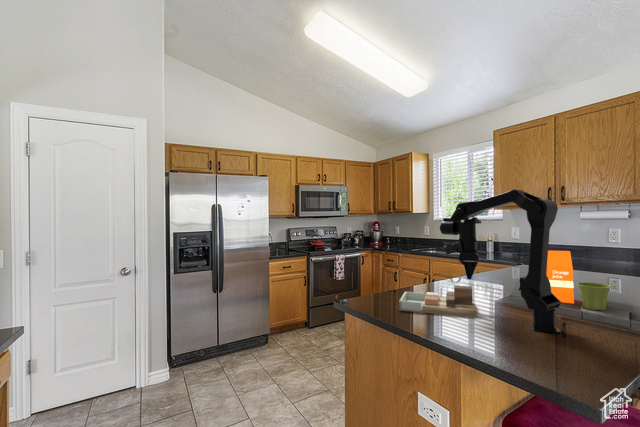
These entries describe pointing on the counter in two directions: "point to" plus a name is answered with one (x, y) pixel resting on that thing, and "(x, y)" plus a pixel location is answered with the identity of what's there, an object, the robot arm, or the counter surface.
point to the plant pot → (594, 295)
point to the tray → (411, 301)
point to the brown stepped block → (459, 296)
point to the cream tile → (433, 294)
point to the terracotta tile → (431, 300)
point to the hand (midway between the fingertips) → (468, 277)
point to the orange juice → (561, 275)
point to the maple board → (450, 308)
